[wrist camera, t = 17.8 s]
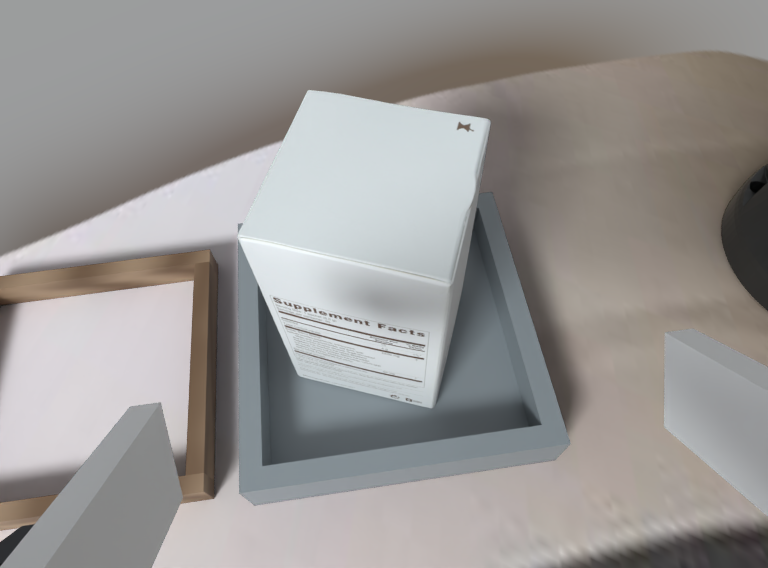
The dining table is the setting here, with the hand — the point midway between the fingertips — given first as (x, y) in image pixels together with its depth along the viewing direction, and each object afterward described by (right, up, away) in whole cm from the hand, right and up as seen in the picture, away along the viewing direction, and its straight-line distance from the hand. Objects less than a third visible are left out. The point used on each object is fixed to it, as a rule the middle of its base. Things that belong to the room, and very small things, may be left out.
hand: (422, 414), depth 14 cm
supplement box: (-1, 0, +22) cm, 22 cm away
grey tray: (-1, -1, +22) cm, 22 cm away
